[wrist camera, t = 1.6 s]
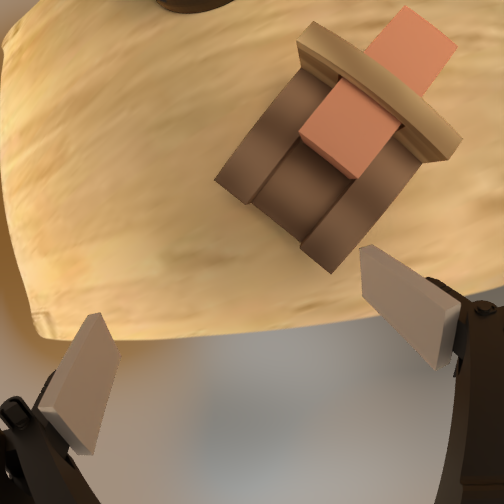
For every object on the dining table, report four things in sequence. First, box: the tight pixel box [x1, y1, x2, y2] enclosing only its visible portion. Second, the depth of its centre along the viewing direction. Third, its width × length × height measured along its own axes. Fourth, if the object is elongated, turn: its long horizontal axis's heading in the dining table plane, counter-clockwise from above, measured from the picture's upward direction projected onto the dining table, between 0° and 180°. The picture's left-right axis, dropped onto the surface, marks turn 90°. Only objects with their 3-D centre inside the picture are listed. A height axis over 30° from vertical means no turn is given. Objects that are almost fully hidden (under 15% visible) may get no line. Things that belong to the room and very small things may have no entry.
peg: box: [299, 6, 458, 179], centre depth 20 cm, size 14×5×6 cm, turn 142°
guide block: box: [214, 21, 463, 274], centre depth 24 cm, size 14×12×14 cm
